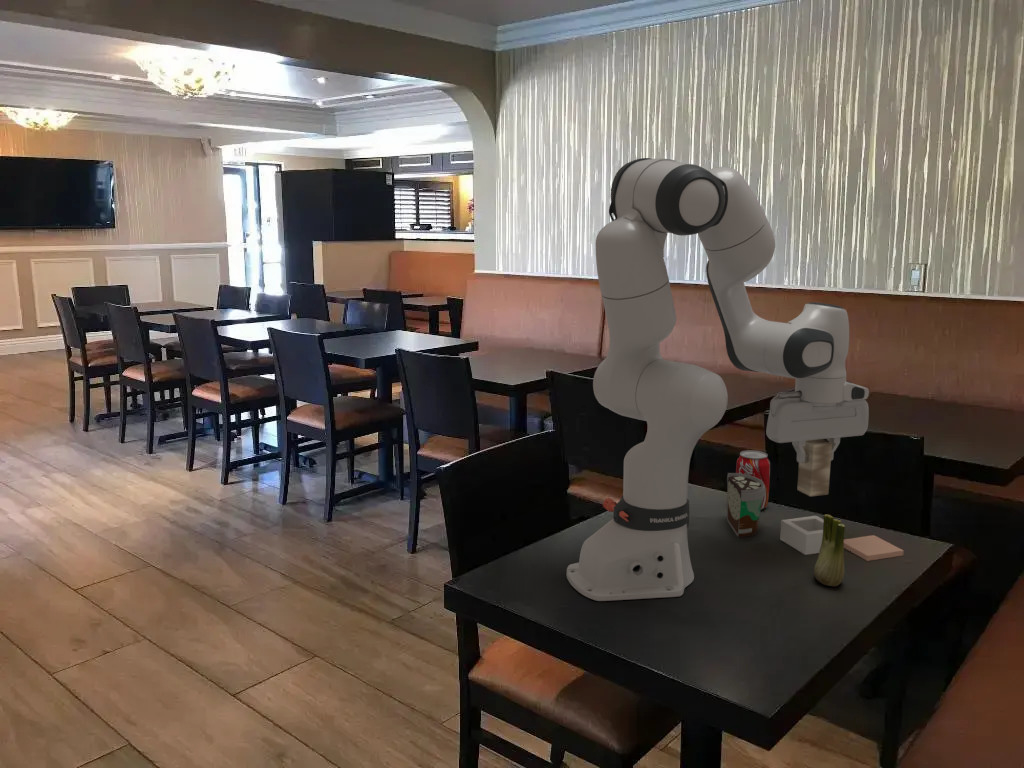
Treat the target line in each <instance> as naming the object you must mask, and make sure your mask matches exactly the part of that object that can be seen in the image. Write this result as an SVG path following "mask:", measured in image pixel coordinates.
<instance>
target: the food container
mask: <svg viewBox="0 0 1024 768" xmlns="http://www.w3.org/2000/svg"><path fill="white" fill-rule="evenodd" d="M726 477H727V478H726V482H727V487H726V488H727V491H726V493H727V494H726V495H727V496H726V499H727V500H726V501H727V503H726V507H727V508H726V521H727V523H728V524H729V525H730V527H731V529H732V530H733V532H734V533H735V535H736V536H737V538H746V537H751V536H754V535H756V533H758V530H759V522H760V514H761V510H760V509H761V501H762V498H763V497H764V496H765V495H766V492H765V486H764V484H763V482H762V481H761V480H760V479H758V478H756V477H753V476H750V475H745V474H738V473H736V472H727V476H726Z"/></svg>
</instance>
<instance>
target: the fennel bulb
mask: <svg viewBox="0 0 1024 768" xmlns="http://www.w3.org/2000/svg"><path fill="white" fill-rule="evenodd" d="M823 519H824V522H823V537H822V543H821V547H820V551H819V553H818V557H817V559H816V563H815V564H814V568H813V574H814V577H815V579H816V580H817V581H818V583H820V584H822V585H824V586H829V587H838V586H839V585H841V583H842V581H843V579H844V576H845V561H844V557H845V556H844V548H843V546H844V539H845V530H846V526H845V524H843V523H842V521H841V520H839V519H835V518H834V516H832V515H831V514H827V513H826V514H824V515H823Z"/></svg>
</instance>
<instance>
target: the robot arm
mask: <svg viewBox="0 0 1024 768" xmlns="http://www.w3.org/2000/svg"><path fill="white" fill-rule="evenodd" d="M611 183H612V184H611V186H610V187H611V188H610V204H609V207H608V214H609V215H608V216H609V217H610V219H611V221H610V222H608V223H606V224H605V225H604V226H603V227H602V228H601V229H600V230H599V231H598V233H597V235H596V237H595V260H596V261H595V262H596V271H597V279H598V284H599V285H598V286H599V289H600V294H601V298H602V303H603V308H604V312H605V317H606V323H607V327H608V332H609V333H608V334H609V346H608V351H607V355H606V358H604V359H603V360H602V361H601V362H600V363H599V365H598V367H597V368H596V370H595V371H594V375H593V379H592V380H593V381H592V388H593V389H592V390H593V393H594V394H593V395H594V397H595V399H596V400H597V402H598V403H599V404H600V405H601V406H603V407H604V408H606V409H609V410H610V411H612V412H614V413H615V414H617V415H620V416H622V417H627V418H631V419H634V420H635V419H636V420H639V421H644V422H646V424H647V432H646V434H645V438H644V441H642V442H639V443H637V444H636V445H634V446H632V447H631V448H630V449H629V450H628V451H627V452H626V454H625V456H624V459H623V480H622V481H623V486H622V489H623V490H622V491H623V493H622V496H621V497H620V499H619V501H618V502H616V501H614V499H612V498H610V497H608V498H605V499H604V501H603V503H602V506H603V508H604V509H605V510H606V511H608V512H609V513H612V512H613V517H612V518H611V519H610V520H609V521H608V522H606V523H605V524H604V525H603V526H602V527H601V528H599V529H598V530H596V532H594V533H593V534H592V535H590V536H588V537H587V539H585V540H584V541H583V543H582V546H581V550H580V554H579V561H578V562H575V563H571V564H568V566H567V567H566V573H565V574H566V579H567V581H568V583H569V584H570V586H572V587H573V588H574V589H575V590H576V591H577V592H578V593H580V594H581V595H582V596H584V597H586V598H588V599H591V600H594V601H597V602H607V601H609V602H610V601H623V600H626V601H627V600H642V599H643V600H644V599H657V598H658V599H659V598H675V597H678V598H679V597H681V596H682V595H683V594H684V592H685V588H686V587H688V586H689V585H691V584H692V583H693V582H694V580H695V574H694V571H693V567H692V561H691V557H690V551H689V542H688V528H689V524H690V500H689V498H688V485H689V484H688V483H689V471H690V463H691V458H692V454H693V451H694V449H695V446H696V445H697V443H698V441H700V440H699V439H701V437H702V436H703V435H704V434H705V433H706V432H708V430H710V429H713V428H714V427H715V426H716V425H718V423H719V422H720V421H721V420H722V418H723V416H724V415H725V413H726V410H727V406H728V398H729V397H728V396H729V394H728V390H727V386H726V384H725V381H724V380H723V378H722V377H721V375H719V374H718V373H715V372H713V371H712V370H709V369H707V368H704V367H701V366H698V365H696V364H695V363H694V364H693V363H687V362H682V361H681V362H680V361H675V360H674V361H673V360H669V359H664V357H662V355H661V350H660V343H661V342H663V341H664V340H665V339H667V338H668V337H669V336H670V335H671V333H672V332H673V330H674V328H675V326H676V323H677V313H676V309H675V305H674V304H675V303H674V298H673V294H672V288H671V284H670V279H669V278H670V277H669V274H668V270H667V266H666V262H665V259H664V258H665V253H664V252H665V245H666V244H665V243H666V239H667V236H668V234H673V235H676V236H683V237H684V236H691V235H692V236H693V235H696V234H697V236H698V238H699V240H700V242H701V244H702V247H703V248H704V251H705V253H706V257H707V259H708V260H707V263H706V265H705V274H706V280H707V283H708V287H709V291H710V294H711V296H712V300H713V302H714V306H715V308H716V311H717V314H718V317H719V319H720V323H721V327H722V330H723V333H724V341H725V347H726V354H727V356H728V359H729V361H730V362H731V364H732V365H733V366H734V367H735V368H737V369H738V370H740V371H744V372H745V371H746V372H754V373H763V374H768V375H772V376H777V377H779V376H781V377H784V378H790V379H795V384H794V385H795V388H794V391H789V392H784V391H783V392H778V393H777V394H776V395H775V396H773V398H772V399H771V400H770V402H769V412H768V418H767V423H766V429H765V430H766V431H765V432H766V436H767V438H768V439H769V440H770V441H773V442H775V443H777V444H778V443H779V444H784V443H792V446H793V449H794V450H795V452H796V462H797V463H798V464H799V463H808V462H809V454H808V453H805V451H804V449H803V446H805V443H806V441H807V440H817V439H822V440H826V441H827V442H830V443H832V451H831V461H833V460H834V454H835V453H834V452H836V450H837V449H838V447H839V445H840V443H841V438H847V437H859V436H864V435H865V433H866V432H867V430H868V427H869V416H870V415H869V414H870V412H869V403H868V402H867V399H868V397H869V395H870V391H869V388H868V387H865V386H862V385H859V384H855V383H852V381H849V380H847V370H846V361H847V360H846V359H847V356H848V354H849V347H850V346H849V345H850V322H849V315H848V312H847V310H846V309H845V308H844V307H843V306H840V305H836V304H832V303H831V304H830V303H829V304H828V303H824V302H816V301H815V302H812V301H811V302H808V303H805V304H804V306H803V309H802V311H801V313H800V314H799V315H798V316H797V317H795V318H793V319H792V320H789V321H787V322H780V321H773V320H767V319H765V318H762V317H760V316H759V315H757V314H756V313H755V312H754V310H753V308H752V305H751V301H750V298H749V295H748V292H747V289H746V285H745V283H746V282H748V281H750V280H752V279H754V278H755V277H757V275H759V274H760V273H761V272H763V271H764V270H765V269H766V267H768V265H769V264H770V262H771V261H772V259H773V256H774V254H775V251H776V242H775V241H776V239H775V236H774V232H773V229H772V226H771V224H770V222H769V220H768V218H767V216H766V214H765V212H764V208H763V207H762V206H761V203H760V201H759V199H758V198H757V196H756V195H755V192H754V191H753V190H752V188H751V187H750V185H749V183H748V182H747V180H746V179H745V178H744V177H743V174H741V173H740V172H739V171H738V170H737V169H735V168H733V167H729V166H717V167H713V168H710V169H706V168H704V167H703V166H700V165H696V164H694V163H693V164H690V163H685V162H681V161H677V160H675V159H671V158H670V159H669V158H650V157H642V158H637V159H634V160H633V159H632V160H631V161H628V162H627V163H625V164H624V165H622V166H621V167H619V169H618V171H617V172H616V173H615V175H614V177H613V179H612V182H611ZM613 216H614V217H613Z"/></svg>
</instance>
